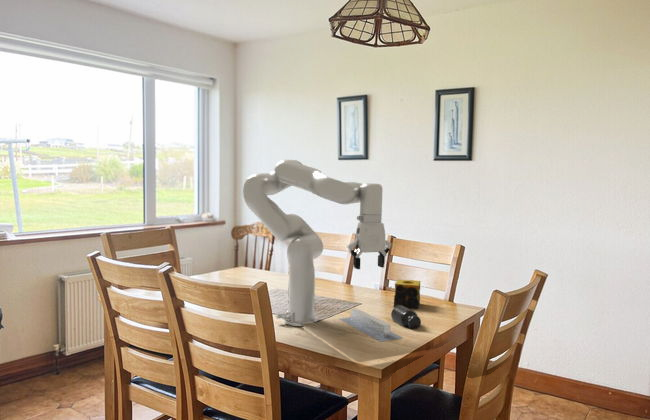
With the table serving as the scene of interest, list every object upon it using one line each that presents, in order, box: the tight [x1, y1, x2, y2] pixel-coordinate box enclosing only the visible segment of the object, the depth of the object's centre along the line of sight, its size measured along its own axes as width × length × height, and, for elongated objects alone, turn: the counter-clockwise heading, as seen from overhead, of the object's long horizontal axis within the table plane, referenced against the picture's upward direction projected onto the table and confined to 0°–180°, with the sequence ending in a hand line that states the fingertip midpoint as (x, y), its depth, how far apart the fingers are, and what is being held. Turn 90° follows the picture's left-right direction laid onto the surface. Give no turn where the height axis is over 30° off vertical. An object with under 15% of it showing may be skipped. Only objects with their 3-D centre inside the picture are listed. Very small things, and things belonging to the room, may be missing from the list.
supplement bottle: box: [390, 305, 422, 330], centre depth 188 cm, size 7×7×12 cm
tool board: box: [339, 316, 404, 343], centre depth 183 cm, size 9×28×1 cm, turn 27°
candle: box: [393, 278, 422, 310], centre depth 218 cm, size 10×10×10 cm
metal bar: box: [350, 308, 391, 337], centre depth 183 cm, size 2×22×4 cm, turn 27°
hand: (369, 267), depth 182 cm, fingers open, 9 cm apart
